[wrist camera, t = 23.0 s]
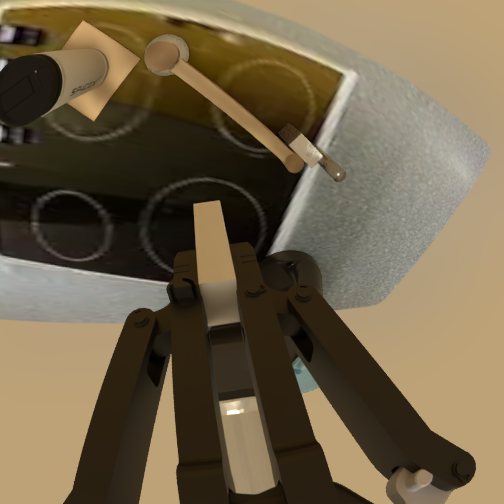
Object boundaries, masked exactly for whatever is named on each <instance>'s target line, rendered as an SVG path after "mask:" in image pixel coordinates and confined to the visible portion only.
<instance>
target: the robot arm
mask: <svg viewBox="0 0 504 504" xmlns="http://www.w3.org/2000/svg"><path fill="white" fill-rule="evenodd" d="M194 222H195V239H196V250H192V251H185V252H178V253H177V255H176V257H175V259H174V279H173V280H172V281H171V282H170V283H169V284H168V285H167V289H166V290H167V293H168V296H169V299H170V303H169V304H168V305H167V306H166V307H164V308H162V309H160V310H158V311H155V312H153V311H152V310H150V309H147V308H139V309H137V310H134V311H133V312H132V313H130V314H129V316H128V317H127V319H126V321H125V324H124V326H123V329H122V332H121V334H120V337H119V339H118V342H117V345H116V347H115V350H114V353H113V356H112V358H111V361H110V364H109V367H108V369H107V372H106V376H105V378H104V381H103V384H102V387H101V390H100V393H99V396H98V399H97V402H96V405H95V409H94V412H93V415H92V419H91V422H90V425H89V428H88V432H87V435H86V439H85V443H84V446H83V450H82V453H81V457H80V461H79V465H78V469H77V473H76V477H75V481H74V486H73V490H72V491H71V493H70V494H69V496H68V497H67V499H66V500H65V502H64V503H63V504H139V500H140V494H141V489H142V483H143V478H144V472H145V467H146V462H147V457H148V452H149V447H150V442H151V437H152V432H153V428H154V423H155V419H156V414H157V410H158V405H159V401H160V396H161V392H162V388H163V384H164V379H165V375H166V371H167V367H168V363H169V359H170V354H172V375H173V376H172V377H173V394H174V411H175V423H176V435H177V446H178V455H179V464H178V466H177V470H176V475H177V485H178V493H179V500H180V504H374V503H372V502H370V501H368V500H366V499H365V498H363V497H361V496H360V495H358V494H356V493H355V492H353V491H352V490H350V489H348V488H347V487H345V486H343V485H341V484H339V483H336V482H333V481H332V477H331V474H330V471H329V468H328V464H327V461H326V458H325V455H324V452H323V449H322V447H321V445H320V444H319V443H318V442H317V441H316V439H315V436H314V433H313V430H312V426H311V423H310V420H309V417H308V413H307V410H306V407H305V404H304V401H303V397H302V394H301V393H306V392H309V391H312V390H314V389H317V388H319V387H320V389H321V390H322V392H323V393H324V395H325V396H326V398H327V399H328V401H329V402H330V404H331V405H332V407H333V408H334V409H335V411H336V412H337V414H338V415H339V417H340V418H341V420H342V421H343V423H344V424H345V426H346V427H347V428H348V430H349V431H350V433H351V434H352V436H353V437H354V439H355V440H356V442H357V443H358V444H359V446H360V447H361V449H362V450H363V452H364V453H365V455H366V456H367V457H368V459H369V460H370V461H371V463H372V464H373V465H374V466H375V468H376V469H377V470H378V471H379V472H380V473H381V474H382V475H383V476H384V477H386V478H387V479H388V480H389V481H388V483H387V486H386V493H387V496H388V497H389V498H390V500H391V501H392V502H393V503H394V504H444V503H445V501H446V500H447V499H448V497H449V495H450V493H451V492H452V491H453V490H455V489H457V488H460V487H462V486H464V485H466V484H467V483H469V482H470V481H471V479H472V478H473V476H474V474H475V471H476V463H475V460H474V458H473V457H472V456H471V455H470V454H469V453H468V452H466V451H464V450H463V449H461V448H459V447H458V446H456V445H454V444H452V443H451V442H449V441H447V440H446V439H444V438H443V437H441V436H439V435H438V434H436V433H434V432H433V431H431V430H430V429H429V427H428V426H427V425H426V423H425V422H424V421H423V420H422V418H421V417H420V416H419V415H418V413H417V412H416V411H415V410H414V408H413V407H412V406H411V404H410V403H409V402H408V401H407V399H406V398H405V397H404V396H403V394H402V393H401V392H400V391H399V389H398V388H397V387H396V386H395V384H394V383H393V382H392V381H391V379H390V378H389V377H388V376H387V374H386V373H385V372H384V371H383V370H382V368H381V367H380V366H379V365H378V363H377V362H376V361H375V360H374V358H373V357H372V356H371V355H370V354H369V352H368V351H367V350H366V349H365V347H364V346H363V345H362V344H361V343H360V341H359V340H358V339H357V338H356V336H355V335H354V334H353V333H352V332H351V331H350V329H349V328H348V327H347V326H346V324H345V323H344V322H343V321H342V320H341V318H340V317H339V316H338V315H337V314H336V312H335V311H334V310H333V309H332V308H331V306H330V305H329V304H328V303H327V302H326V300H325V299H324V298H323V294H322V276H321V272H320V269H319V267H318V265H317V264H316V262H315V260H314V259H313V258H312V257H310V256H309V255H307V254H305V253H302V252H298V251H284V252H279V253H276V254H273V255H270V256H268V257H266V258H265V259H263V260H262V261H260V262H259V263H258V261H257V258H256V256H255V252H254V249H253V247H252V246H251V245H250V244H249V243H248V242H243V243H236V244H229V243H228V239H227V234H226V229H225V224H224V219H223V214H222V209H221V204H220V200H219V201H212V202H205V203H198V204H194Z"/></svg>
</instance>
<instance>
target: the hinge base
mask: <svg viewBox="0 0 504 504" xmlns="http://www.w3.org/2000/svg"><path fill="white" fill-rule="evenodd" d="M158 41H167V42H170V43H173V44H175V45H176V46H177V47H178V48H179V51H180V57H179V60H178V61H177V63H178V62H179V61H180V60H181V59H183V60H185V61H186V62H187V61H188V58H189V48H188V46H187V44H186V42H185V41H184V40H183V39H182V38H180V37H178V36H176V35H171V34H167V35H161V36H159V37H157V38H155V39H153V40H152V41H151V42H150V43H149V44H148V46H147V48H148V47H149V46H150V45H151V44H153V43H155V42H158ZM147 48H146V50H147ZM146 50H145V52H146ZM144 56H145V53H144ZM144 61H145V59H144ZM177 63H176V64H177ZM145 64H146V63H145ZM176 64H174V65H173V66H172V67H171V68H169V69H168V70H165V71H154V70H151V69H150V68H149V67H148V66H147V65H146V66H147V68H148V69H149V70H150V71H151V72H153V73H154V74H157V75H161V76H169V75H173V74H174V73H173V72H172V71H171V70H172V69H173V68H174V67H175V65H176Z"/></svg>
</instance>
